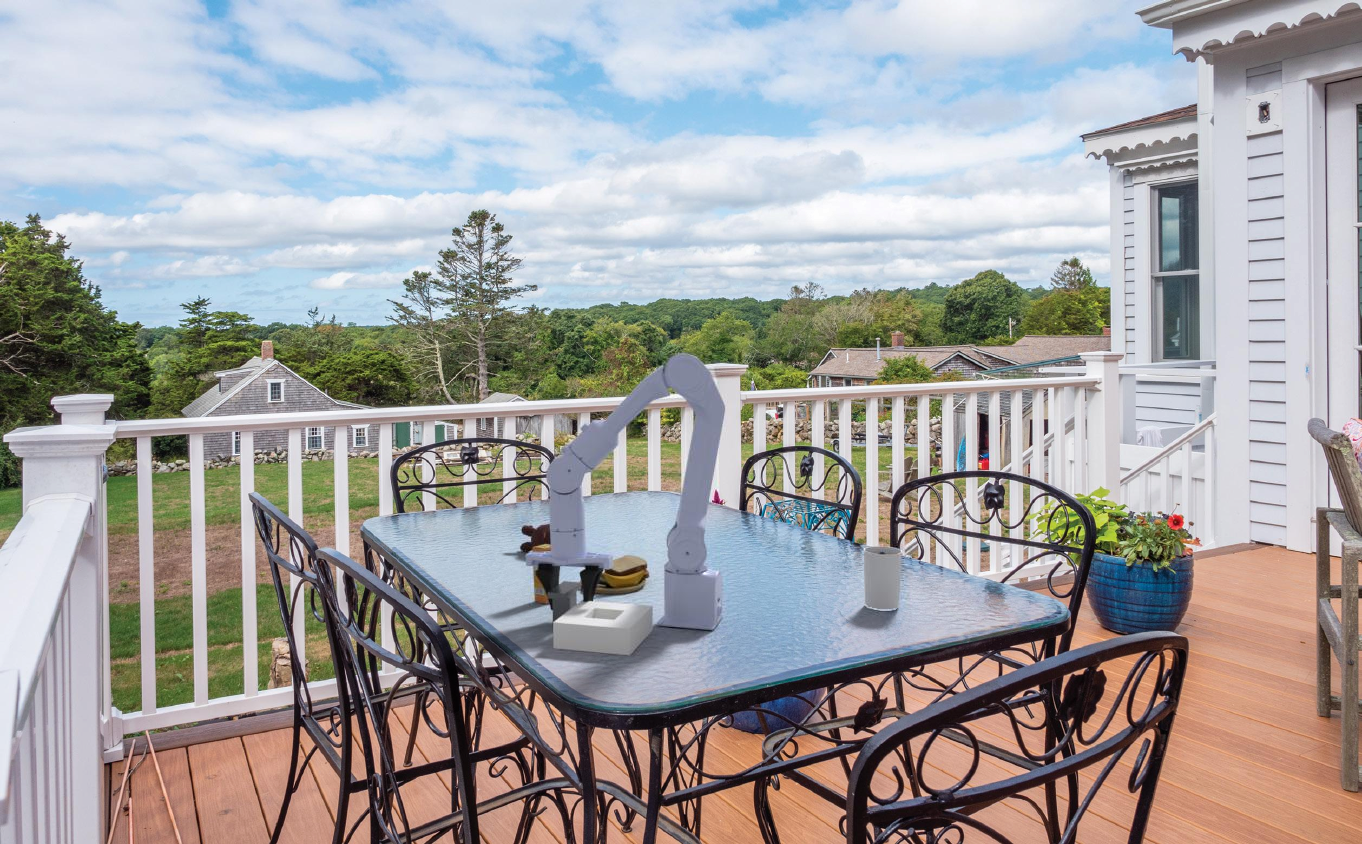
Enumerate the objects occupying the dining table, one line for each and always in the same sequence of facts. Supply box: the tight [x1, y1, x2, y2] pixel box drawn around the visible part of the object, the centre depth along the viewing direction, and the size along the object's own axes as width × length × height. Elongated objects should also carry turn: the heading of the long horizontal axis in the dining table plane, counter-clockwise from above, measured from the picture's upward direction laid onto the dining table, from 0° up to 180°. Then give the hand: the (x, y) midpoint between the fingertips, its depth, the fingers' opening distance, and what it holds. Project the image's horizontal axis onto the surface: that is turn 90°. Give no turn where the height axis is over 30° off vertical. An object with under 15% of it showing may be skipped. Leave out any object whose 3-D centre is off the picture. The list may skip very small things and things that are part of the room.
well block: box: [552, 599, 654, 656], centre depth 139 cm, size 12×12×4 cm
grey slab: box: [548, 581, 582, 623], centre depth 147 cm, size 3×7×6 cm, turn 165°
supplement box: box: [531, 544, 551, 605], centre depth 159 cm, size 3×3×10 cm
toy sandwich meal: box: [579, 554, 650, 595], centre depth 170 cm, size 12×14×5 cm
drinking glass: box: [863, 545, 903, 609], centre depth 156 cm, size 7×7×10 cm
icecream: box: [519, 523, 551, 553], centre depth 196 cm, size 7×8×15 cm
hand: (571, 609), depth 148 cm, fingers open, 5 cm apart
